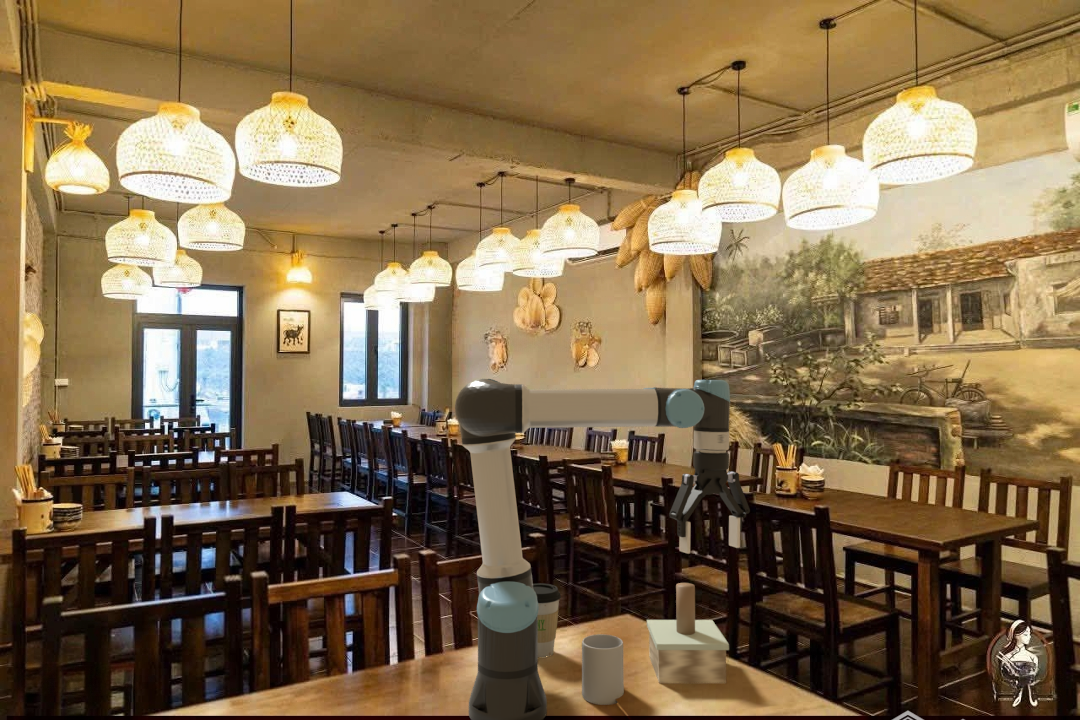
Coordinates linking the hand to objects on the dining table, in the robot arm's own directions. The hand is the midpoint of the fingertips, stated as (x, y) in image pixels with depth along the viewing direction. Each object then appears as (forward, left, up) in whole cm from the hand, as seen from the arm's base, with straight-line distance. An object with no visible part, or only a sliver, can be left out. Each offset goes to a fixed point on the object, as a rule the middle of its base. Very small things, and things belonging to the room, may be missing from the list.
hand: (709, 549), depth 154 cm
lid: (-5, +2, -21) cm, 21 cm away
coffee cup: (-37, +14, -28) cm, 48 cm away
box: (-5, +2, -28) cm, 28 cm away
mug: (-24, -7, -28) cm, 37 cm away
